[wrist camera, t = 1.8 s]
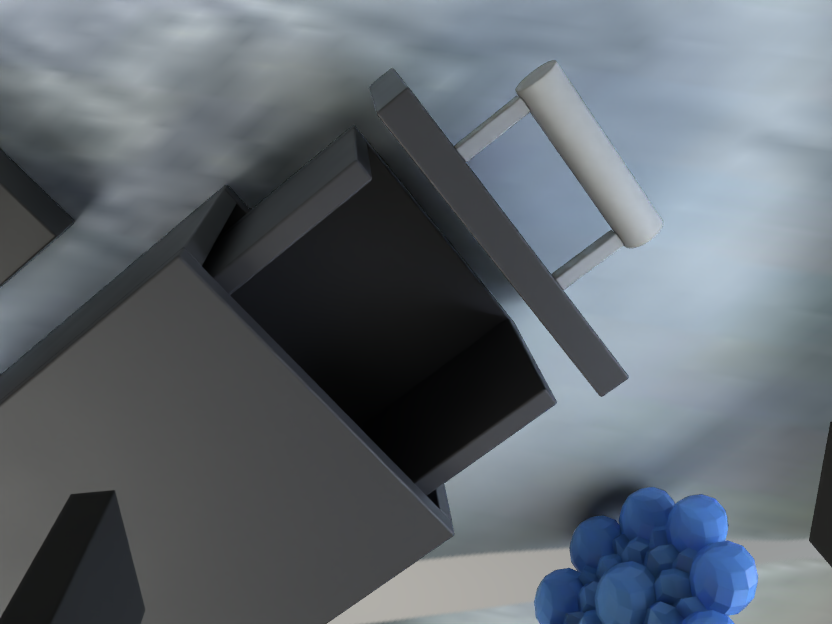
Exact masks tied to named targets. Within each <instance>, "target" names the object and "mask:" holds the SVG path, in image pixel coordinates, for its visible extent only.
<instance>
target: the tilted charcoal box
mask: <svg viewBox="0 0 832 624" xmlns="http://www.w3.org/2000/svg"><path fill="white" fill-rule="evenodd" d="M249 211H250V209H249V208H248V207H247V206H246V205H245V204H244V203H243V201H242V200H241V199H240V198H239V197H238V196H237V195H236V194H235V193H234V192H233V191H232V189H231V188H230V187H229V186H228V185H224V186H223V187H222V188H221V189H220V190H219V191H217V192H216V193H215V194H214V195H213V196H211V197H210V198H209V199H208V200H207V201H206V202H204V203H203V204H202V205H201V206H200V207H198V208H197V209H196V210H195V211H194V212H193V213H191V214H190V215H189V216H188V217H187V218H185V219H184V220H183V221H182V222H181V223H180V224H178V225H177V226H176V227H175V228H174V229H172V230H171V231H170V232H169V233H168V234H167V235H165V236H164V237H163V238H162V239H161V240H159V241H158V242H157V243H156V244H155V245H154V246H152V247H151V248H150V249H149V250H148V251H146V252H145V253H144V254H143V255H142V256H141V257H139V258H138V259H137V260H136V261H135V262H133V263H132V264H131V265H130V266H129V267H128V268H126V269H125V270H124V271H123V272H122V273H120V274H119V275H118V276H117V277H116V278H115V279H113V280H112V281H111V282H110V283H109V284H108V285H106V286H105V287H104V288H103V289H102V290H100V291H99V292H98V293H97V294H96V295H95V296H93V297H92V298H91V299H90V300H89V301H87V302H86V303H85V304H84V305H83V306H82V307H80V308H79V309H78V310H77V311H76V312H74V313H73V314H72V315H71V316H70V317H69V318H67V319H66V320H65V321H64V322H63V323H61V324H60V325H59V326H58V327H57V328H56V329H54V330H53V331H52V332H51V333H50V334H48V335H47V336H46V337H45V338H44V339H43V340H41V341H40V342H39V343H38V344H37V345H35V346H34V347H33V348H32V349H31V350H30V351H28V352H27V353H26V354H25V355H24V356H22V357H21V358H20V359H19V360H18V361H17V362H15V363H14V364H13V365H12V366H11V367H9V368H8V369H7V370H6V371H5V372H4V373H2V374H1V375H0V618H1V616H2V614H3V612H4V611H5V609H6V607H7V605H8V604H9V602H10V600H11V598H12V596H13V595H14V593H15V591H16V589H17V588H18V586H19V584H20V582H21V581H22V579H23V577H24V575H25V574H26V572H27V570H28V568H29V567H30V565H31V563H32V561H33V560H34V558H35V556H36V554H37V553H38V551H39V549H40V547H41V546H42V544H43V542H44V540H45V539H46V537H47V535H48V533H49V532H50V530H51V528H52V526H53V525H54V523H55V521H56V519H57V517H58V516H59V514H60V512H61V510H62V509H63V507H64V505H65V503H66V502H67V500H68V498H69V496H70V495H71V494H77V493H88V492H98V491H109V490H115V492H116V496H117V500H118V504H119V508H120V512H121V516H122V520H123V523H124V527H125V531H126V535H127V539H128V543H129V547H130V551H131V555H132V559H133V563H134V566H135V570H136V574H137V578H138V582H139V586H140V590H141V594H142V598H143V602H144V606H145V609H146V610H145V613H144V616H143V618H142V621H141V624H327V623H328V622H330V621H331V620H333V619H334V618H335V617H337V616H338V615H340V614H341V613H343V612H344V611H346V610H347V609H348V608H350V607H351V606H353V605H354V604H356V603H357V602H359V601H360V600H361V599H363V598H364V597H366V596H367V595H369V594H370V593H372V592H373V591H374V590H376V589H377V588H379V587H380V586H382V585H383V584H385V583H386V582H388V581H389V580H390V579H392V578H393V577H395V576H396V575H398V574H399V573H401V572H402V571H403V570H405V569H406V568H408V567H409V566H411V565H412V564H414V563H415V562H417V561H418V560H419V559H421V558H422V557H424V556H425V555H427V554H428V553H430V552H431V551H432V550H434V549H435V548H437V547H438V546H440V545H441V544H443V543H444V542H445V541H447V540H448V539H450V538H451V537H453V536H454V530H453V525H452V519H451V514H450V509H449V504H448V499H447V495H446V490H445V485H444V484H442V485H441V486H440V487H438V488H437V489H435V490H434V491H432V492H431V493H430V494H428V495H427V496H426V495H425V494H424V493H423V492H422V491H421V490H420V489H419V488H418V487H417V486H416V485H415V484H414V483H413V482H412V480H411V479H410V478H409V477H408V476H407V475H406V474H405V473H404V472H403V471H402V470H401V469H400V468H399V467H398V466H397V465H396V464H395V463H394V462H393V461H392V460H391V459H390V458H389V457H388V456H387V455H386V454H385V453H384V452H383V451H382V450H381V449H380V448H379V447H378V446H377V445H376V444H375V443H374V442H373V441H372V440H371V439H370V438H369V437H368V436H367V435H366V434H365V433H364V431H363V430H362V429H361V428H360V427H359V426H358V425H357V424H356V423H355V422H354V421H353V420H352V419H351V418H350V417H349V416H348V415H347V414H346V413H345V412H344V411H343V410H342V409H341V408H340V407H339V406H338V405H337V404H336V403H335V402H334V401H333V400H332V399H331V398H330V397H329V396H328V395H327V394H326V393H325V392H324V391H323V390H322V389H321V388H320V387H319V386H318V385H317V383H316V382H315V381H314V380H313V379H312V378H311V377H310V376H309V375H308V374H307V373H306V372H305V371H304V370H303V369H302V368H301V367H300V366H299V365H298V364H297V363H296V362H295V361H294V360H293V359H292V358H291V357H290V356H289V355H288V354H287V353H286V352H285V351H284V350H283V349H282V348H281V347H280V346H279V345H278V344H277V343H276V342H275V341H274V340H273V339H272V338H271V337H270V336H269V334H268V333H267V332H266V331H265V330H264V329H263V328H262V327H261V326H260V325H259V324H258V323H257V322H256V321H255V320H254V319H253V318H252V317H251V316H250V315H249V314H248V313H247V312H246V311H245V310H244V309H243V308H242V307H241V306H240V305H239V304H238V303H237V302H236V301H235V300H234V299H233V298H232V297H231V296H230V295H229V294H228V293H227V292H226V291H225V290H224V289H223V288H222V287H221V285H220V284H219V283H218V282H217V281H216V280H215V279H214V278H213V277H212V276H211V275H210V274H209V273H208V272H207V271H206V270H205V269H204V268H203V267H202V265H203V263H204V261H205V260H206V258H207V256H208V254H209V252H210V251H211V249H212V247H213V245H214V243H215V242H216V240H217V238H218V237H219V236H220V235H222V234H223V233H224V232H225V231H226V230H228V229H229V228H230V227H231V226H232V225H234V224H235V223H236V222H237V221H238V220H240V219H241V218H242V217H243V216H244V215H246V214H247V213H248V212H249Z"/></svg>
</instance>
